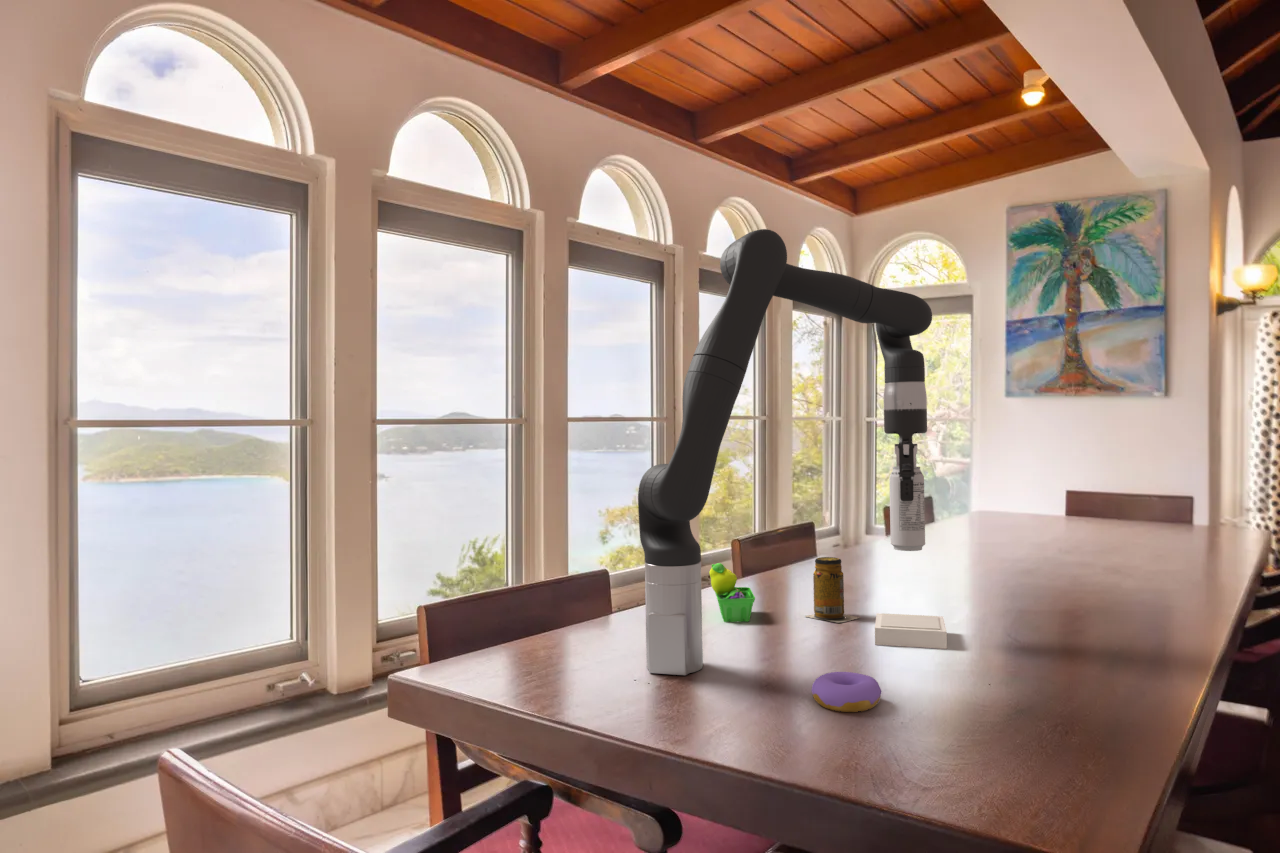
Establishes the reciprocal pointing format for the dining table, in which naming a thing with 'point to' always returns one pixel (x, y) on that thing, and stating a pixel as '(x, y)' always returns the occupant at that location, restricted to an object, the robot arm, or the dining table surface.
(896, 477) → the energy drink can
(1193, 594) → the dining table surface
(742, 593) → the fruit basket
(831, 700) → the donut
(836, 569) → the condiment
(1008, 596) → the dining table surface
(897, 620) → the beige rectangular box
